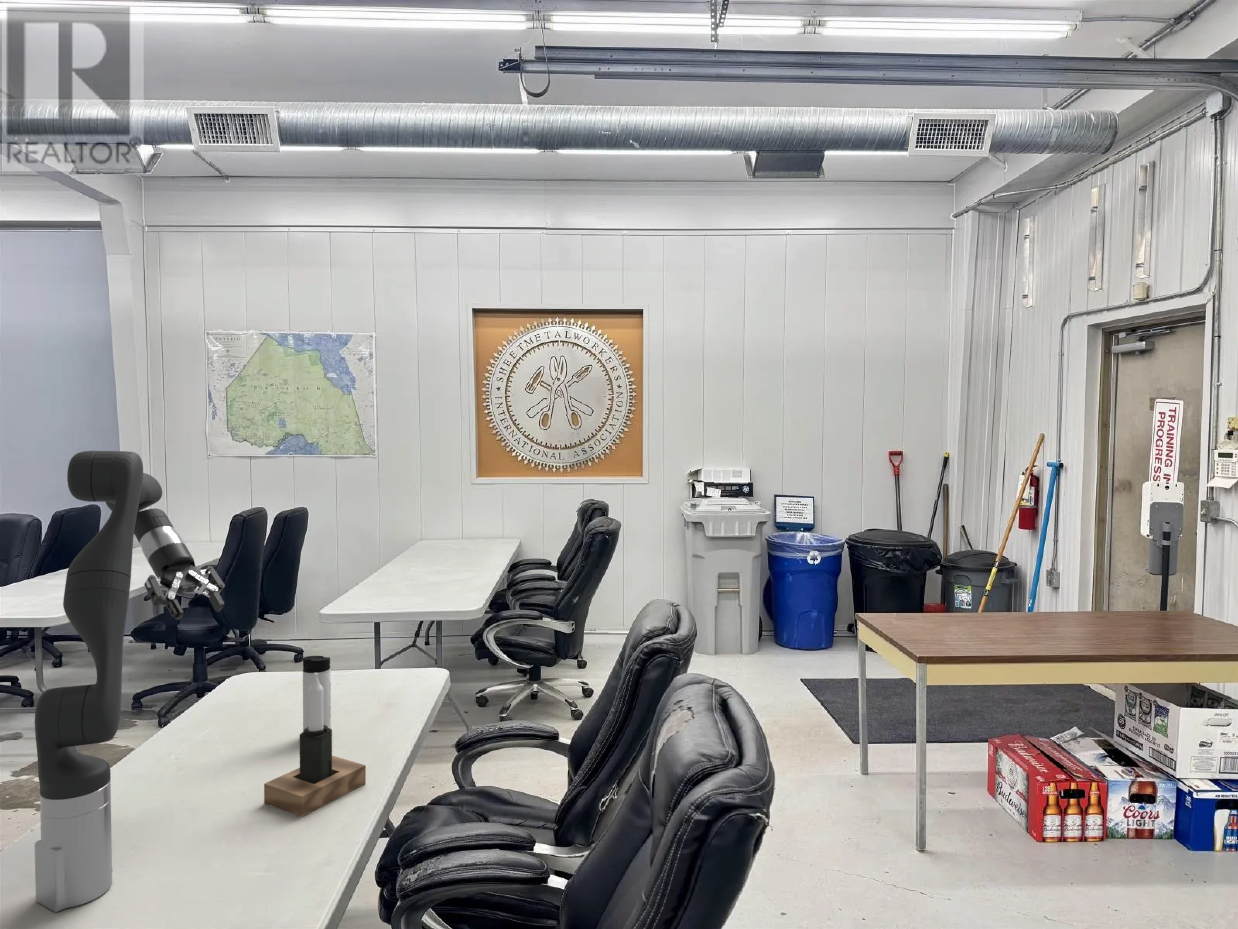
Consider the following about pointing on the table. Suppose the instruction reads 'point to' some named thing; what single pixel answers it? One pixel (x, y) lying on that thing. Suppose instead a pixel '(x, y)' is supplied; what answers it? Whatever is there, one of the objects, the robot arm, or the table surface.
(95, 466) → the robot arm
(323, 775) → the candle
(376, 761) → the table surface
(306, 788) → the socket block
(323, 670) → the travel mug
